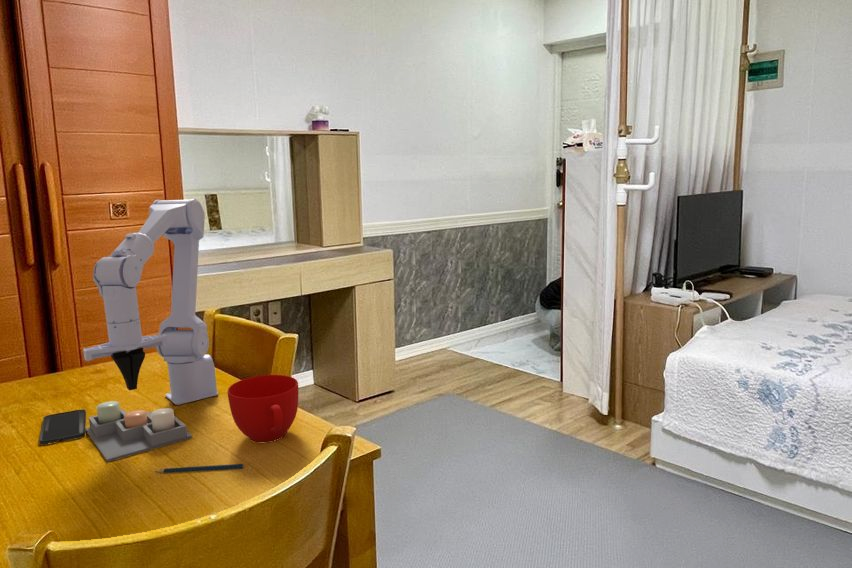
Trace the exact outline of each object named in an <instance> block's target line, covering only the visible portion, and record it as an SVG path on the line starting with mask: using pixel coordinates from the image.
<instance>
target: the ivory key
mask: <svg viewBox="0 0 852 568" xmlns="http://www.w3.org/2000/svg"><path fill="white" fill-rule="evenodd" d="M152 411H153V412H152ZM152 411H151V412H152V413H151V420H152V428H153V432H155V433H157V432H161V431H165V430H168V429H172V428H175V420H174V417H175V413H174V409H172V408H171V407H163V408H159V409H156V410H152Z"/></svg>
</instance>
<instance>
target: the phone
mask: <svg viewBox="0 0 852 568" xmlns="http://www.w3.org/2000/svg"><path fill="white" fill-rule="evenodd" d="M86 421H87V411H86V409H84V408H81V409H75V410H70V411H64V412H58V413H53V414H48V415H45V416H43V420H42V424H41V429H40V433H39V434H40V435H39V438H38V440H39V441H38V442H39V445H40V444H47V445H49V444H48V443H52V444H55V443H54V442H57V443H60V442H59V441H62V442H66V441H67V440H68V441H72V440H71V439H73V440H78V439H81V438H83V437H85V436H86V429H85V428H86V427H85V426H87V425H86Z"/></svg>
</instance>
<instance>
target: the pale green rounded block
mask: <svg viewBox="0 0 852 568" xmlns="http://www.w3.org/2000/svg"><path fill="white" fill-rule="evenodd" d="M120 410H121V407H120V402H119V401H115V400H110V401H104V402H102V403H99V404H97V405H96V411H97V413H96V414H97V415H98V420H99V424H105V423H109V422H113V421H117V420H121V414H120Z"/></svg>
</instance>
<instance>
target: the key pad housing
mask: <svg viewBox="0 0 852 568" xmlns="http://www.w3.org/2000/svg"><path fill="white" fill-rule="evenodd" d="M153 411H154V410H152V411H149V412H146V413H147V421H148V423H147V424H144V425H140V426H136V427H132V428H128V429H126V428H125V420H124V415H125V414H126V413H127V412H126V411H125V410H124V409H123V408H122V409H121V408H120V414H121V420H117V421H113V422H109V423H105V424H99V420H98V414H96V415H93V416H90V417H88V422H89V427H85V433H87V435H88V436H89V438H90V439H91V440H92V442H93V443H94V445H95V446H96V448H97V450H98V451H99V452H100V453H101V456H103V457H104V460H105V461H106V462H107V463H110V462H112V461H116V460H119V459H120V460H121V459H122V458H127V457H131V456H134V455H138V454H141V453H145V452H148V451H151V450H155V449H159V448H162V447H165V446H170V445H172V444H176V443H181V442H183V441H187V440H191V439H193V435H192V434H191V433H190V432H189V431H188V429H187V425H186V424H184V423H183V422H182V420H180V419H179V418H178V417H177V416H175V415H174V420H175V428H172V429H168V430H165V431H161V432H157V433H155V432H153V428H152V420H151V413H152V412H153Z"/></svg>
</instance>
